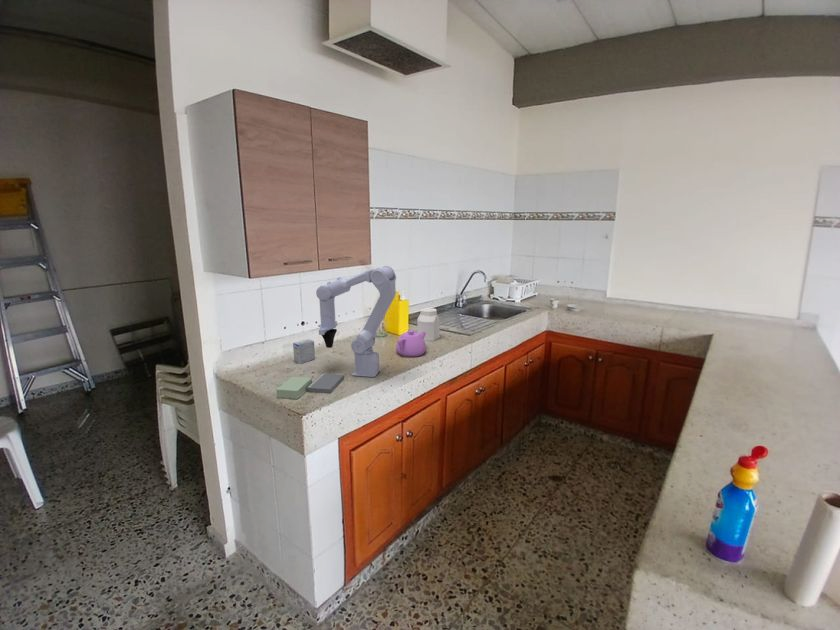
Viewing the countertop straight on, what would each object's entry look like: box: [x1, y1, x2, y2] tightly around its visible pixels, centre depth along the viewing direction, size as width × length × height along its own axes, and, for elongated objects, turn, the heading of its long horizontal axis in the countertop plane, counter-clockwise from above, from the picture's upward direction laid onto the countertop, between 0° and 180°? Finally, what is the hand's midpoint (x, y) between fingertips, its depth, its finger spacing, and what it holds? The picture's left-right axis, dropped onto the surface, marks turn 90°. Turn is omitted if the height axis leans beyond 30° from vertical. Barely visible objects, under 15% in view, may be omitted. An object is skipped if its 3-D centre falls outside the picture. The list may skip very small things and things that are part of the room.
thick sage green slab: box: [276, 376, 313, 400], centre depth 150 cm, size 8×12×3 cm, turn 170°
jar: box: [416, 307, 441, 342], centre depth 214 cm, size 12×10×15 cm
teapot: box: [395, 329, 427, 358], centre depth 193 cm, size 14×20×11 cm
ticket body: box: [306, 373, 345, 394], centre depth 156 cm, size 9×14×2 cm, turn 170°
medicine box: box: [292, 338, 316, 365], centre depth 182 cm, size 8×4×9 cm, turn 141°
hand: (329, 347), depth 170 cm, fingers closed
